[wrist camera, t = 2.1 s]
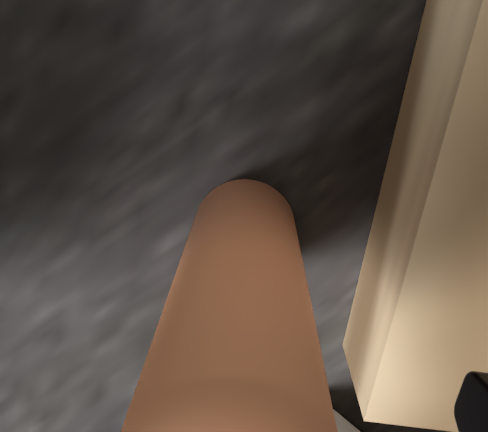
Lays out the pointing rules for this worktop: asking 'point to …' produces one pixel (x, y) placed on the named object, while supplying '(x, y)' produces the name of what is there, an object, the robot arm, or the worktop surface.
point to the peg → (236, 327)
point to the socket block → (429, 234)
